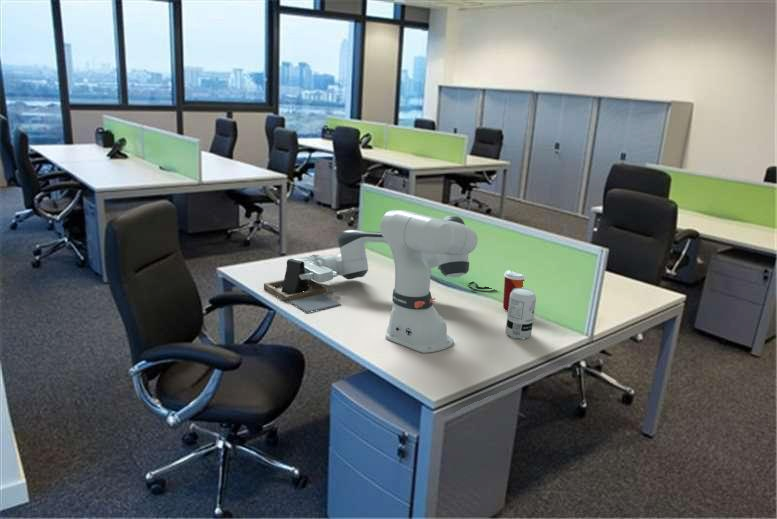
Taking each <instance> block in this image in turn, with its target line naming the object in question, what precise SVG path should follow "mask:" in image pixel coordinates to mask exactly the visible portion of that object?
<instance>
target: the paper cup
mask: <svg viewBox="0 0 777 519" xmlns="http://www.w3.org/2000/svg"><path fill="white" fill-rule="evenodd" d="M510 270H511V269H508V270H506V271H505V272H504V273H503V277H504V284H503V285H504V286H503V302H502V303H503V305H502V309H503V308H504V309H505V310H507V311H506V312H508V307H509V299H510V293H511V292H512V291H513V289H515V288H522V287H523V288H524V286H523V281H524V282H525V280H526V278H524V275H522V274H519V273H516V272H513V271H512V272H511V271H510ZM524 279H525V280H524ZM504 309H503V310H504ZM505 310H504V311H505Z"/></svg>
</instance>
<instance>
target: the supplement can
mask: <svg viewBox="0 0 777 519" xmlns="http://www.w3.org/2000/svg"><path fill="white" fill-rule="evenodd" d="M536 300H537V296H536V294H535V291H533V290H531V289H529V288H524V287H523V288H515V289H513V291H512V292H511V293H510V299H509V307H508V311H507V316H506V325H505V333H506V334H507V336H508V335H509V337H510V336H511V337H510V338H512V337H514V338H513V339H515V338H520V339H519V340H524V339H523V338H527V339H529V338H530V337H531V336H532V331H533V324H534V315H535V309H536V303H537V302H536Z"/></svg>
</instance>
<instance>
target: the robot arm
mask: <svg viewBox="0 0 777 519" xmlns="http://www.w3.org/2000/svg"><path fill="white" fill-rule="evenodd" d="M379 230H380V231H363V230H357V229H347V230H344V231H342V232H341V233H340V234H339V236H338V238H337V243H338V248H339V253H337V254H334V255H333V254H329V255H320V254H309V256H303V257H302V256H301V257H298V258H294V260H298V261H302V262H304V270H305V274H304V273H303V274H300V275H299V276H300V277H299V278H300V279H302V280H303V279H311V280H313V281H315V282H317V283H318V284H320V283H321V284H322V283H326V282H330V281H331V280H333V279H334V278H336V277H338V276H341V277H343V278H344V279H347V280H353V279H358V278H363V277H365V275H366V274H367V273H368V272H369V264H368V257H367V250H366V243H379V244H380V243H383V244H386V245H388V247H389V249H390V251H391V255H392V258H393V262H394V268H395V269H394V288H393V291H392V295H391V296H392V302H393V303H392V307H391V311H390V317H389V322H388V326H387V329H386V334H385V339H386V340H389V341H390V342H391V341H392V342H394V343H396V344H398V345H401V346H404V347H407V348H410V349H411V350H414V351H417V352H419V353H423V354H424V353H435V352H439V351H440V352H441V351H442V350H446V349H447V348H450V347H452V346H453V345H454V343H455V342H454V341H455V339H453V338H452V337H451V336H450V335H448V334H447V332H448V330H447V329H448V328H447V324H446V322H445V320H444V318H443V316H441V314H439V312H438V311H437V309H436V308H435V306H434V303H435V302H436V297H434V298H433V297H432V292H431V291H430V290H431V274H432V269H434V268H437V270H439V271H440V273H441V274H442V275H443V276H444V277H448V278H453V279H454V278H456V279H457V278H460V277H463V276H464V275H466V274H467V273H468V272H469V269H470V262H469V254H471V253H473V252H474V251H475V249H476V248H477V247H478V243H479V242H478V240H479V239H478V235H477V232H476V231H475V230H474V229H473V228H471V227H470V226H467V224H465V221H464V220H463V219H462V218H461V217H460V216H455V215H447V216H444V217H442V218H437V217H434V216H429V215H426V214H425V215H424V214H421V213H416V212H414V211H409V210H404V209H392V210H391V209H390V210H388V211H387V212H386V213H385V214H384V215H383V216H382V217H381V220H380V223H379ZM286 269H287V267H285V270H286Z"/></svg>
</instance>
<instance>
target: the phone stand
mask: <svg viewBox="0 0 777 519" xmlns="http://www.w3.org/2000/svg"><path fill="white" fill-rule="evenodd" d="M294 259H295V258H294ZM294 259H293V258H289V259H288V258H287V261H286V268H287V269H286V268H285V274H284V278H283V280H284V282H283V286H281V287H282V288H281V290H280V291H281V292H283V293H285V294H286V293H287V294H286V295H290V294H295V293H300V292H303V291H304V292H305V291H309V290H310V286H309V285H308V282H307V279H303V280H302V279H300V278H299V277H300V276H299V275H300V274H303V273H304V274H305V270H304V262H302V261H298V260H294ZM308 289H309V290H308Z"/></svg>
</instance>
